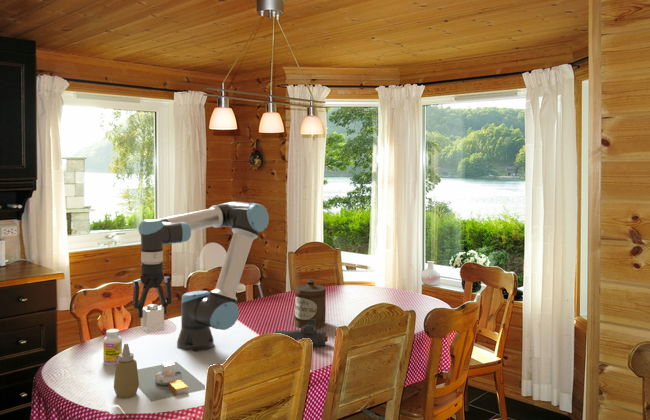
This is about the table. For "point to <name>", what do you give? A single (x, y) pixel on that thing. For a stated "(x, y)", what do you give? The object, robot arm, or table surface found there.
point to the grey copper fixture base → (171, 379)
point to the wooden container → (310, 304)
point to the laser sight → (308, 333)
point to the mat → (160, 392)
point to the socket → (153, 318)
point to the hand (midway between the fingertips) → (152, 324)
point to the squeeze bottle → (126, 375)
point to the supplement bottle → (112, 346)
